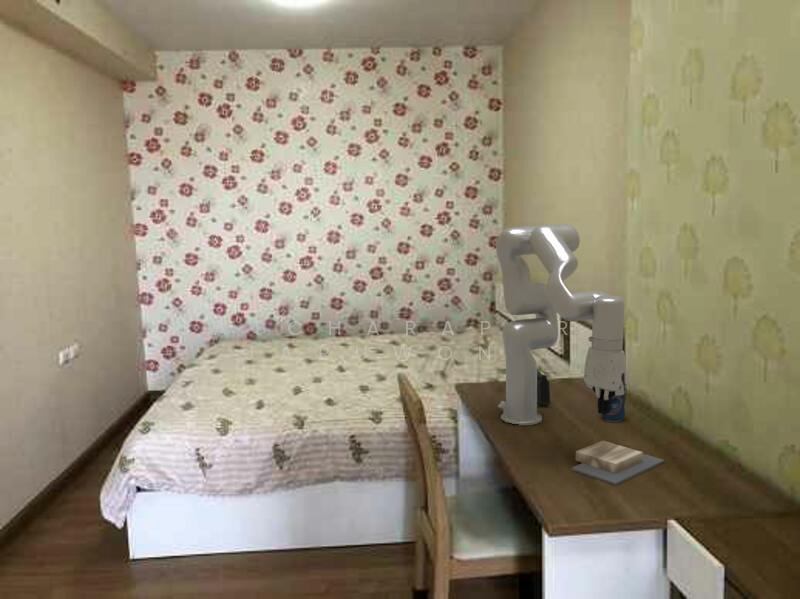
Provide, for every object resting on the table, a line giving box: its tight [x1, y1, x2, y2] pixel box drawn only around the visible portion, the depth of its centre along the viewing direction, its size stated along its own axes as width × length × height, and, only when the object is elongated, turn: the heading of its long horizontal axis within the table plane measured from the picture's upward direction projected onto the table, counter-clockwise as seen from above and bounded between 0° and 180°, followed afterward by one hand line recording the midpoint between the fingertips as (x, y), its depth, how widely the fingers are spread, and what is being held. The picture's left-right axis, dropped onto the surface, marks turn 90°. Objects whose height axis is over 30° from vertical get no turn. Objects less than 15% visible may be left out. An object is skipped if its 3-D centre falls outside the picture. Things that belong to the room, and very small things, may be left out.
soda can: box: [601, 386, 626, 423], centre depth 219 cm, size 7×7×12 cm
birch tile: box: [575, 440, 644, 474], centre depth 184 cm, size 2×12×12 cm
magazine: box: [537, 368, 551, 406], centre depth 246 cm, size 17×3×30 cm
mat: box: [570, 453, 665, 486], centre depth 182 cm, size 13×22×1 cm, turn 130°
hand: (604, 412), depth 184 cm, fingers closed
